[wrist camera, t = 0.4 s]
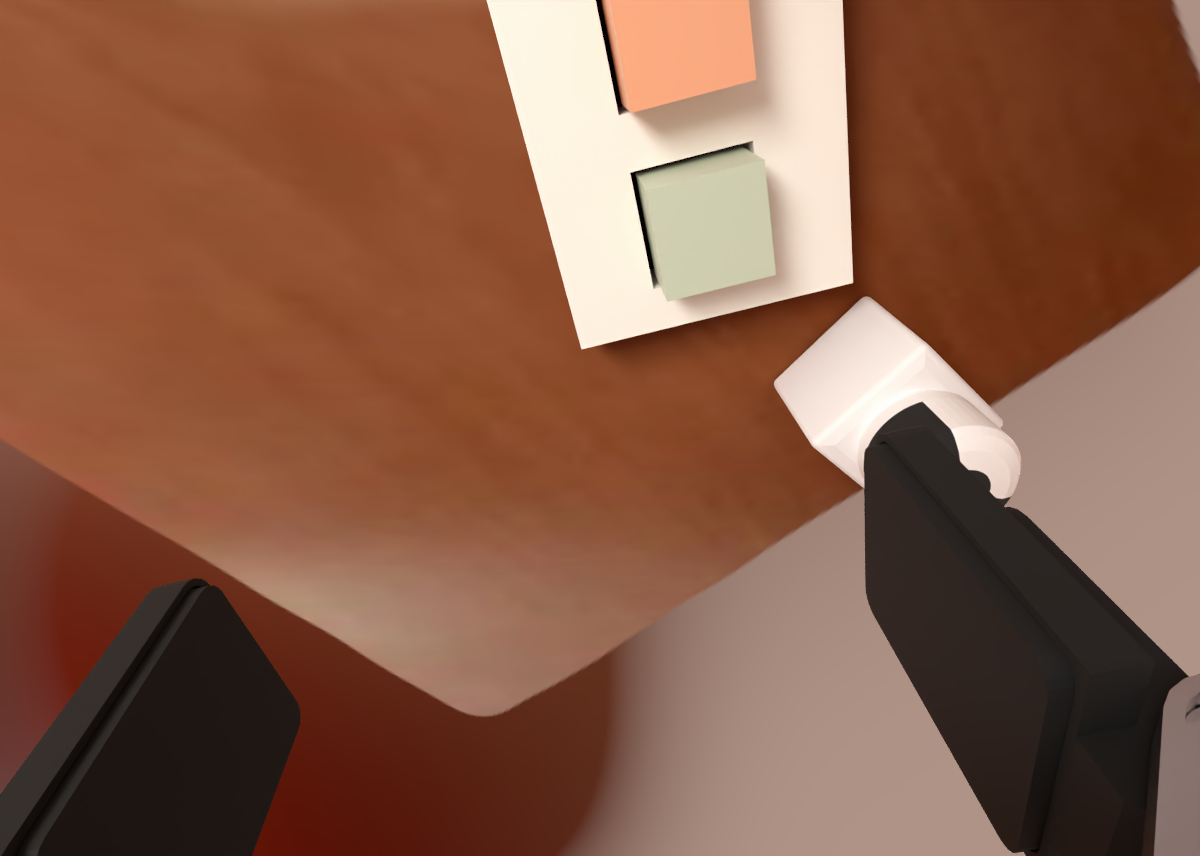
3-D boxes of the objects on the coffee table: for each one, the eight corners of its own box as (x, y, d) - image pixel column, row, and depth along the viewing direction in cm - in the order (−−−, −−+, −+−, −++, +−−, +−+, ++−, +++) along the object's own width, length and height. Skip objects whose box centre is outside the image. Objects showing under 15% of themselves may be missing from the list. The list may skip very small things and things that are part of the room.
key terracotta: (595, -29, 27) (602, -38, 24) (716, -63, 27) (741, -77, 23) (621, 103, 30) (631, 112, 26) (732, 74, 29) (756, 79, 26)
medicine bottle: (844, 445, 42) (941, 579, 32) (769, 382, 39) (847, 505, 29) (938, 364, 40) (1075, 481, 29) (864, 291, 37) (987, 391, 27)
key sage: (635, 172, 31) (645, 190, 28) (740, 145, 31) (764, 159, 27) (655, 274, 34) (667, 301, 30) (752, 249, 33) (775, 274, 30)
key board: (399, -341, 24) (381, -387, 21) (791, -464, 23) (822, -527, 20) (579, 327, 37) (581, 349, 34) (831, 264, 36) (853, 282, 33)
